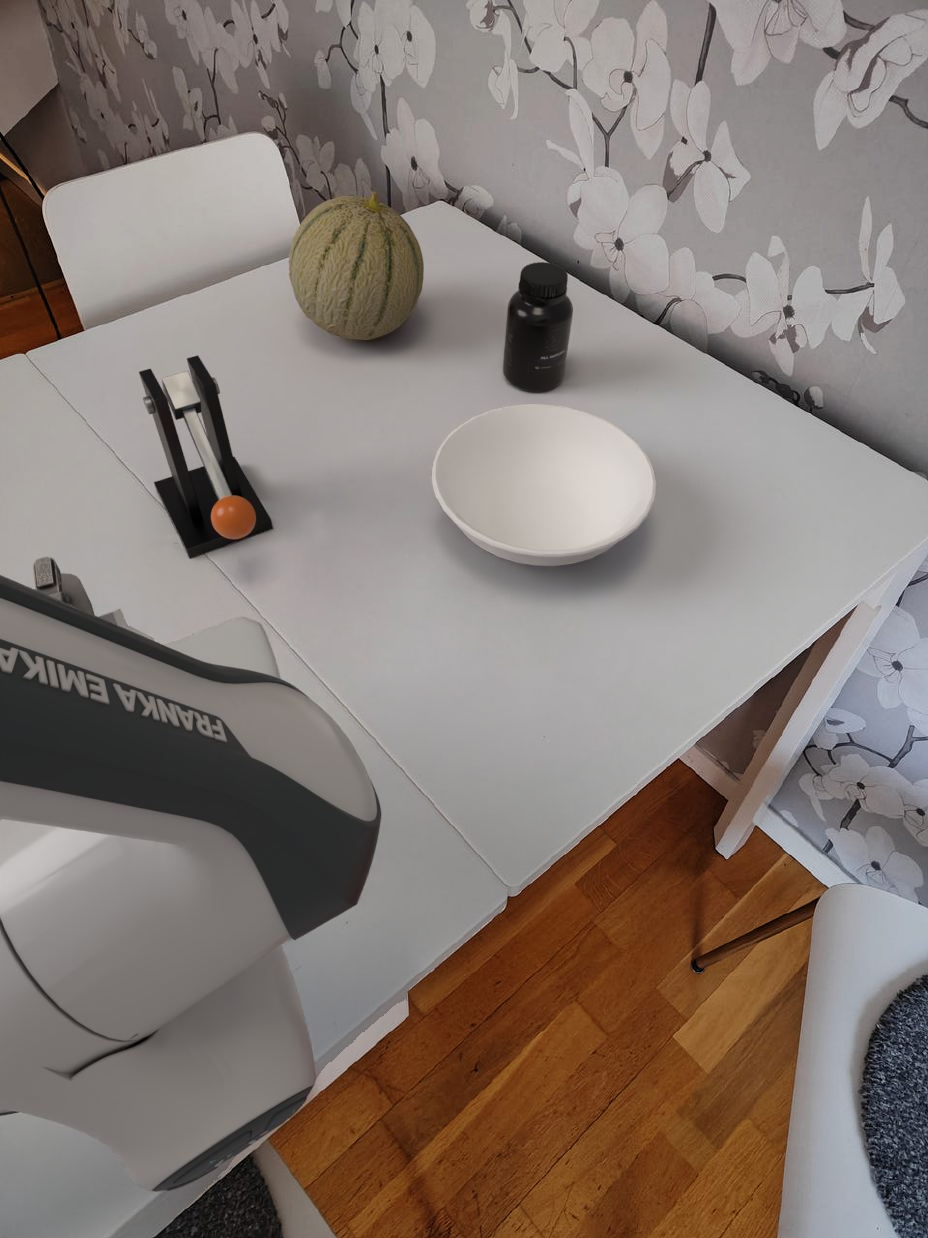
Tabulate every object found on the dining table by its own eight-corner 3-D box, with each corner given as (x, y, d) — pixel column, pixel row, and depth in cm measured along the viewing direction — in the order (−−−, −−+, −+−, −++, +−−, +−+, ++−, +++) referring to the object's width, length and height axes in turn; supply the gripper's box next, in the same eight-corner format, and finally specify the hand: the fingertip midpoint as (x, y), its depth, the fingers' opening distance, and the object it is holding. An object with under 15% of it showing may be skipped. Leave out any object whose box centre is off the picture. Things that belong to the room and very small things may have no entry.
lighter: (138, 741, 53) (86, 640, 45) (80, 758, 52) (18, 659, 44) (121, 643, 58) (71, 537, 50) (68, 657, 57) (9, 551, 49)
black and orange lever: (273, 528, 80) (245, 396, 69) (189, 558, 78) (145, 426, 66) (236, 465, 86) (204, 332, 74) (156, 491, 83) (110, 358, 72)
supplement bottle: (551, 400, 93) (563, 298, 84) (492, 383, 95) (498, 281, 86) (573, 366, 97) (587, 265, 88) (517, 350, 99) (524, 249, 90)
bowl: (468, 437, 89) (470, 385, 84) (660, 479, 86) (673, 428, 81) (401, 573, 77) (398, 522, 72) (621, 629, 74) (633, 579, 69)
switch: (261, 535, 74) (264, 524, 70) (220, 549, 73) (221, 539, 69) (196, 382, 74) (196, 364, 71) (155, 394, 73) (152, 377, 70)
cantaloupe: (271, 335, 100) (248, 205, 88) (353, 281, 108) (342, 155, 96) (370, 382, 95) (360, 250, 83) (450, 321, 102) (450, 193, 91)
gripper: (318, 709, 44) (229, 538, 52) (-117, 894, 38) (-147, 667, 46) (331, 770, 49) (247, 605, 57) (-53, 944, 43) (-90, 732, 50)
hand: (69, 634), depth 51 cm, fingers closed on lighter, 3 cm apart
